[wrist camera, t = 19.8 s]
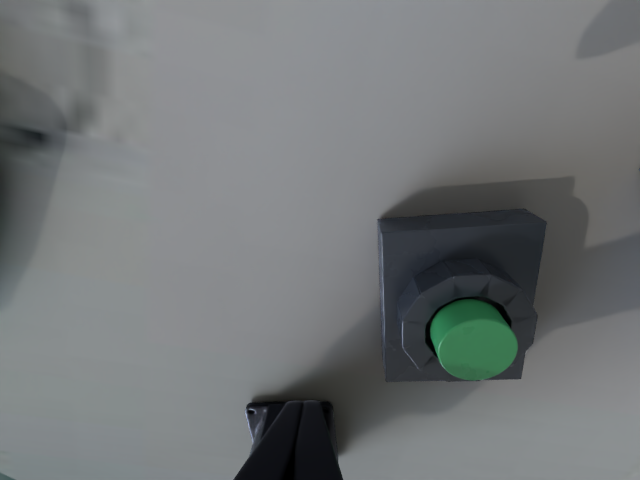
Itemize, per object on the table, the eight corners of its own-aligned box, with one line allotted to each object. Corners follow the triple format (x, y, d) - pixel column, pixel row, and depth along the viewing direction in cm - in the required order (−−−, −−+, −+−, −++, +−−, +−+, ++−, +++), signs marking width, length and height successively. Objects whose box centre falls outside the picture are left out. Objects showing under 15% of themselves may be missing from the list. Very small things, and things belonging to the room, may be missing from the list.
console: (505, 353, 22) (537, 404, 18) (382, 357, 23) (389, 406, 19) (525, 208, 18) (570, 235, 15) (377, 218, 19) (385, 246, 16)
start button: (498, 354, 18) (513, 380, 16) (428, 356, 18) (436, 381, 17) (506, 296, 16) (523, 317, 15) (430, 299, 17) (439, 320, 15)
